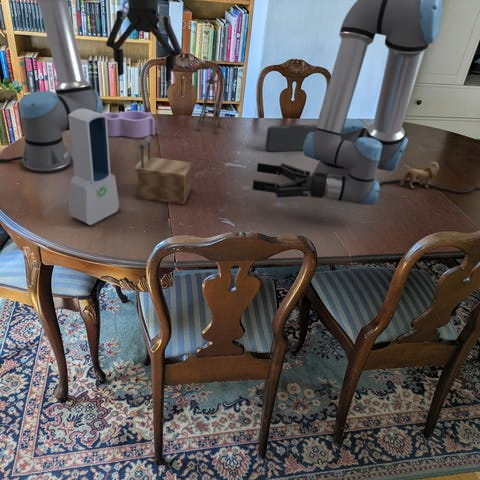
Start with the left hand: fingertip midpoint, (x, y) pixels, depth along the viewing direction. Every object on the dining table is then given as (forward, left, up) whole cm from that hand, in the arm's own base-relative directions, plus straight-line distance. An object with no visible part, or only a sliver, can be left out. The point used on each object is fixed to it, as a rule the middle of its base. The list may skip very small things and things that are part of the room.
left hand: (144, 77), depth 130 cm
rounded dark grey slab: (+45, +53, -36) cm, 78 cm away
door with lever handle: (+6, 0, -27) cm, 27 cm away
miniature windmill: (+8, +65, -36) cm, 74 cm away
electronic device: (-10, -18, -36) cm, 41 cm away
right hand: (+34, -1, -25) cm, 42 cm away
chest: (+6, 0, -36) cm, 36 cm away
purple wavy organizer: (-22, +48, -36) cm, 64 cm away
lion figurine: (+92, +34, -36) cm, 104 cm away
